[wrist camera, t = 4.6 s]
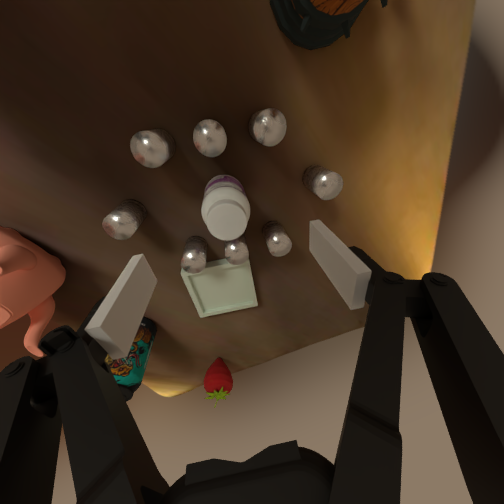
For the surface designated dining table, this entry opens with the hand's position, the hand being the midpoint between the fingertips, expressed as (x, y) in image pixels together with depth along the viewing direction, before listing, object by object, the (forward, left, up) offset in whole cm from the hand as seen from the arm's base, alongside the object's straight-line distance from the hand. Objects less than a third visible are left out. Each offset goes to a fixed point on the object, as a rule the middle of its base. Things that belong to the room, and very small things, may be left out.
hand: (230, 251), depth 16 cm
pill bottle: (0, 0, -14) cm, 14 cm away
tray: (-4, -16, -14) cm, 22 cm away
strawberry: (-10, -38, -14) cm, 42 cm away
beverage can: (-22, -22, -14) cm, 34 cm away
